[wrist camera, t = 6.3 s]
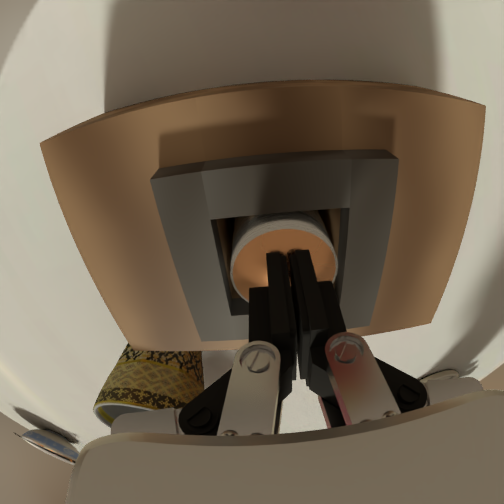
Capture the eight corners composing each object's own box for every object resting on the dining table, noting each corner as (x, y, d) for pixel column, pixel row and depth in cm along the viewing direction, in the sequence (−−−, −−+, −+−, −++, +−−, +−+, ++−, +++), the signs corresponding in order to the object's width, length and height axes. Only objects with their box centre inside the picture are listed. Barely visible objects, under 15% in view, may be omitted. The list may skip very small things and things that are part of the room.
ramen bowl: (34, 429, 66) (29, 447, 59) (15, 407, 54) (7, 429, 47) (95, 454, 71) (91, 474, 64) (87, 440, 59) (81, 464, 52)
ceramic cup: (123, 292, 24) (86, 389, 16) (229, 322, 26) (223, 424, 18) (120, 363, 31) (101, 435, 23) (198, 384, 33) (191, 458, 25)
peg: (305, 157, 17) (341, 222, 10) (306, 219, 19) (333, 306, 13) (232, 163, 17) (221, 232, 11) (241, 225, 20) (238, 315, 13)
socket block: (415, 86, 14) (502, 111, 8) (395, 260, 22) (437, 336, 16) (104, 113, 15) (24, 152, 9) (156, 282, 23) (129, 364, 17)
